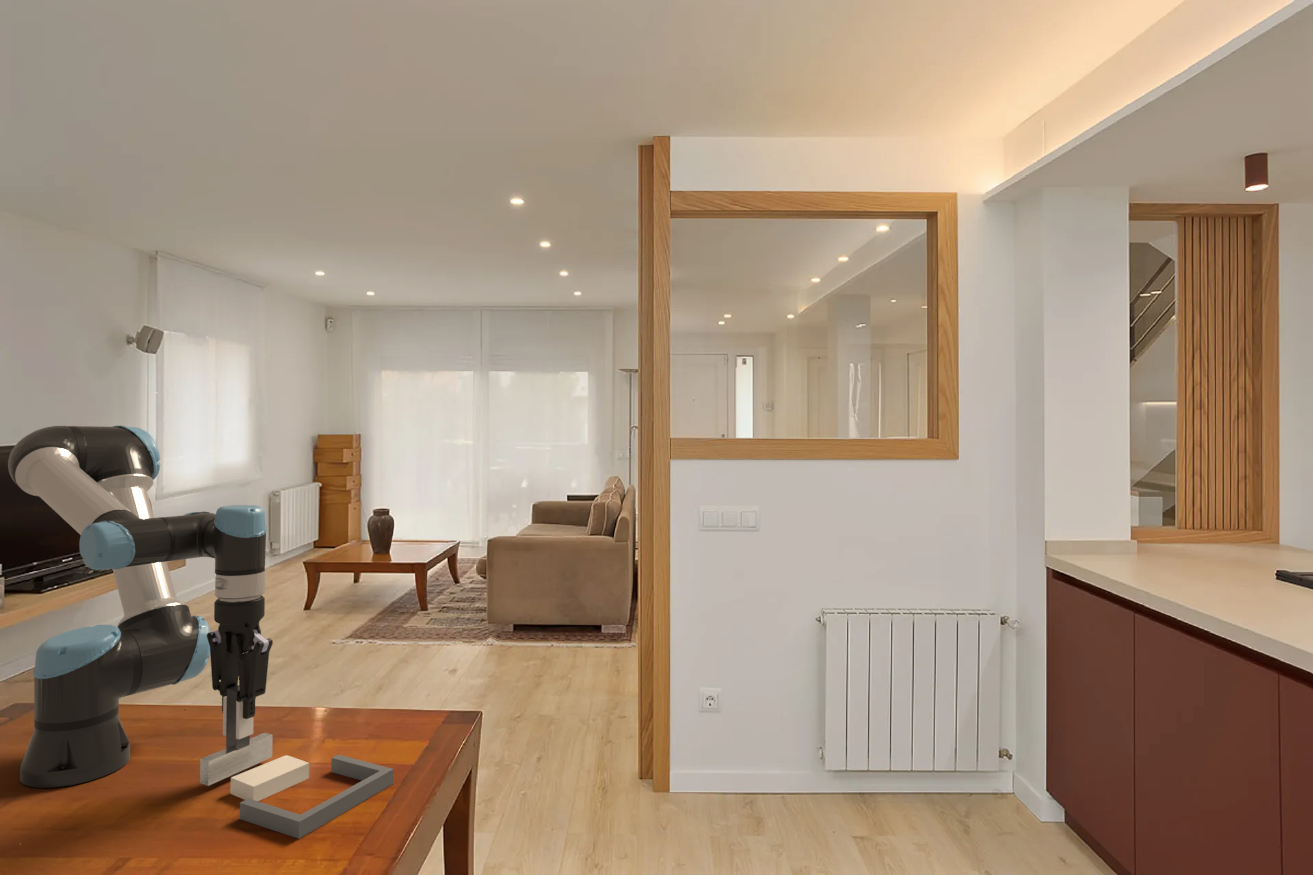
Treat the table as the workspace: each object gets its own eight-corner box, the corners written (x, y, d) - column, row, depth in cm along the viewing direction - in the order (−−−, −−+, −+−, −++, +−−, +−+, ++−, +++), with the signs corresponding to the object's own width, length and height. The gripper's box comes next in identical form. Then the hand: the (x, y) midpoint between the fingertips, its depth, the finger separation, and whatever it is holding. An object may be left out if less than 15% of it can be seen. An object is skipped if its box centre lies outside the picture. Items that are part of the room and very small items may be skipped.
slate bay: (239, 818, 116) (239, 802, 116) (338, 768, 133) (338, 754, 133) (299, 838, 110) (299, 821, 110) (393, 783, 128) (393, 768, 128)
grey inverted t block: (263, 754, 135) (264, 676, 135) (273, 757, 134) (274, 678, 134) (199, 782, 124) (200, 697, 124) (209, 785, 123) (210, 700, 123)
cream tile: (230, 795, 123) (230, 777, 123) (286, 771, 132) (286, 754, 132) (253, 805, 120) (253, 786, 120) (308, 780, 129) (309, 762, 129)
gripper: (188, 596, 129) (186, 733, 129) (252, 606, 122) (250, 751, 123) (228, 587, 136) (227, 718, 136) (291, 597, 129) (289, 734, 130)
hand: (238, 734), depth 129 cm, fingers closed on grey inverted t block, 2 cm apart
